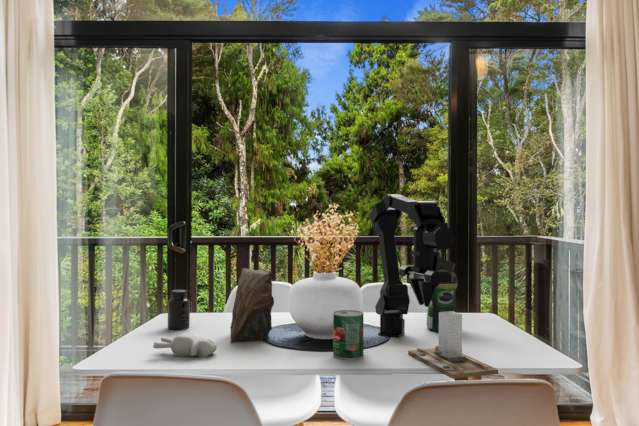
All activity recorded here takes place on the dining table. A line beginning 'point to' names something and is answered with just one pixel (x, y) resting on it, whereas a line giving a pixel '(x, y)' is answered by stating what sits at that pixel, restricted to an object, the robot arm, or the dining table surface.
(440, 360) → the trammel board
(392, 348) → the dining table surface
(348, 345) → the canned tomato
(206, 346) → the bunny figurine
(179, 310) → the supplement bottle
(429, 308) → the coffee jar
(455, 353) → the grey rectangular block
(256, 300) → the tall brown stone
